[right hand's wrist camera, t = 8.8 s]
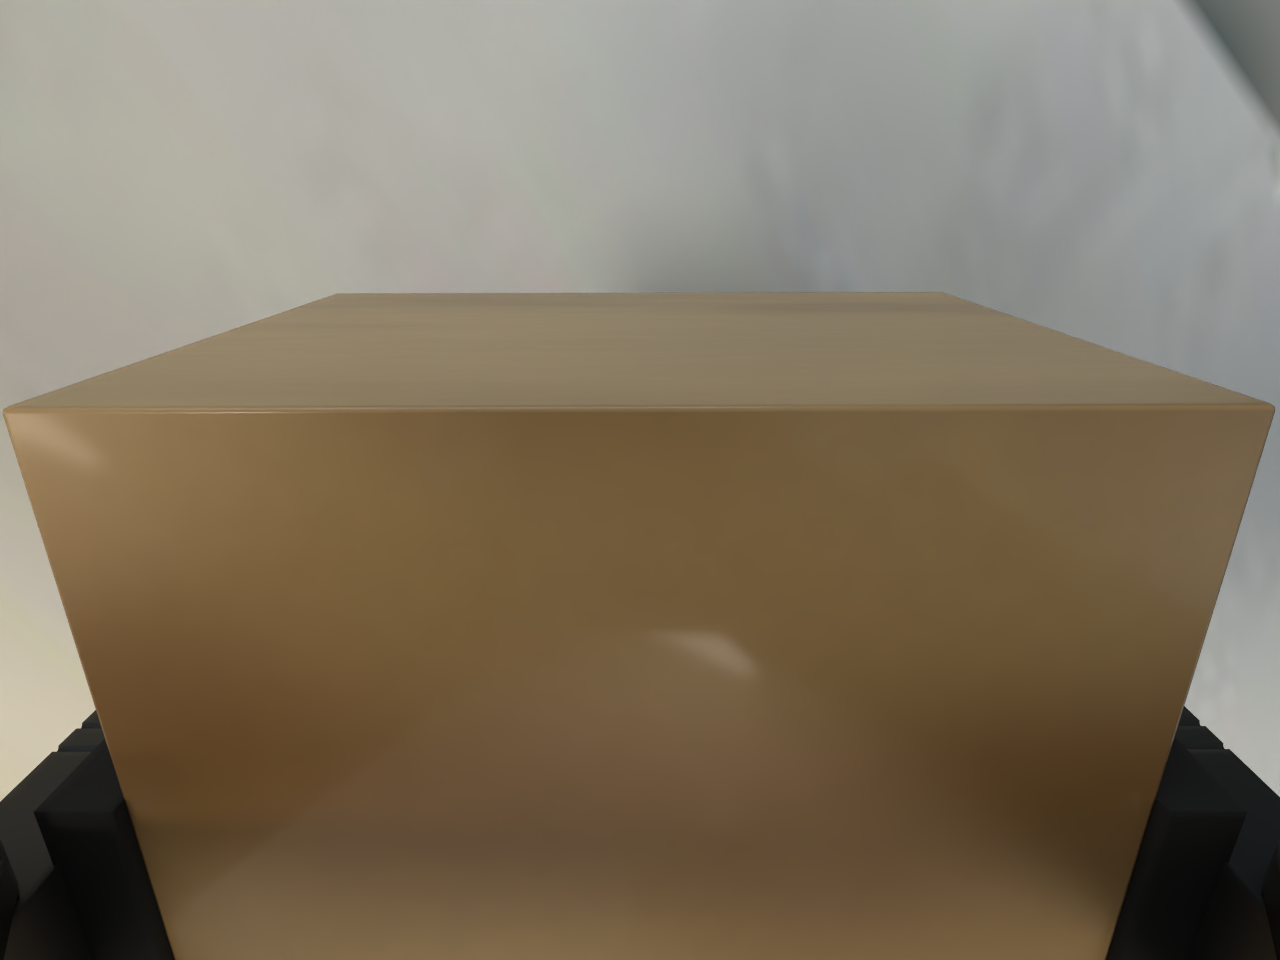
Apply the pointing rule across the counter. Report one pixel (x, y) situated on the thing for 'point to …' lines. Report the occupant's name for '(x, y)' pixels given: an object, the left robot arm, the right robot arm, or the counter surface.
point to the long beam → (639, 622)
